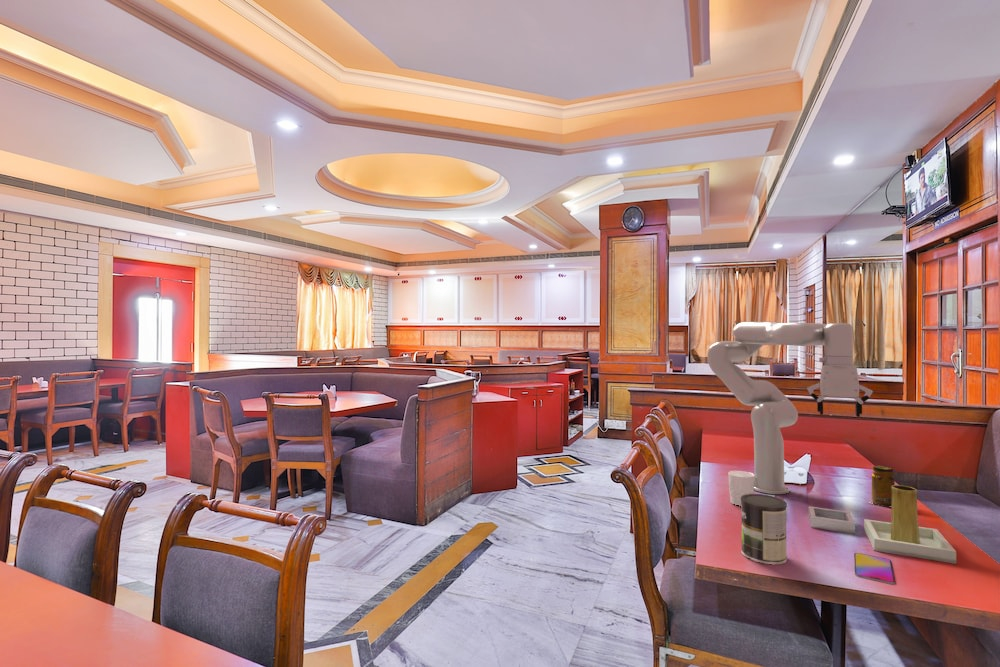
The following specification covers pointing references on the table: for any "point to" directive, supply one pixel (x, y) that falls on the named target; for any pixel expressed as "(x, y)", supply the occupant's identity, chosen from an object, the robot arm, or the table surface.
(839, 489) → the table surface
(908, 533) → the vase
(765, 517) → the coffee can
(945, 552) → the beige tray
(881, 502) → the condiment
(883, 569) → the smartphone
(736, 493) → the white cup
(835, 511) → the white square dish
